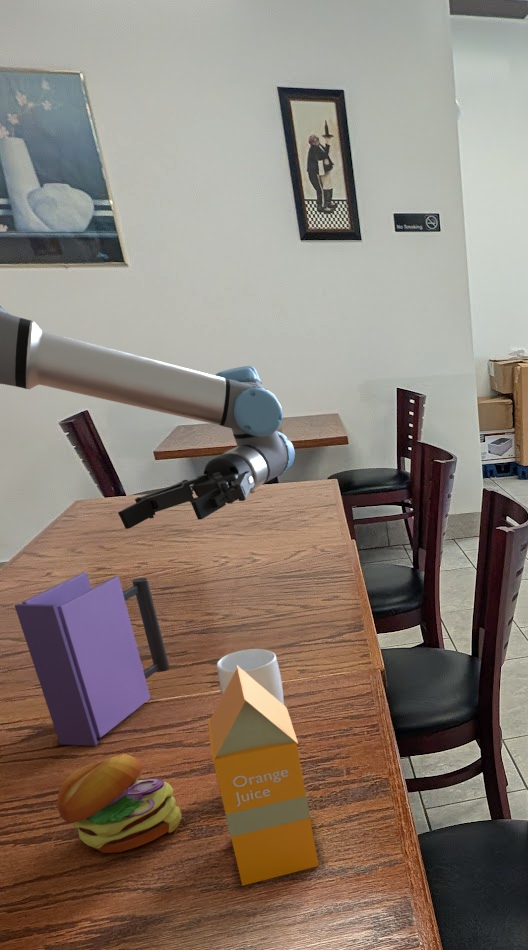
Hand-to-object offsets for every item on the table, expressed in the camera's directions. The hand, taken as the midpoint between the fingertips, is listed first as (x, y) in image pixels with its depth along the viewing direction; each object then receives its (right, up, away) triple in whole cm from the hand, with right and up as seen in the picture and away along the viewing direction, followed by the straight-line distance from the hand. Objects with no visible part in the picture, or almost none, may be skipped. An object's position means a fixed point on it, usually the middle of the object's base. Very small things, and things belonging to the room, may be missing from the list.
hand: (159, 515), depth 125 cm
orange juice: (+32, -44, -39) cm, 67 cm away
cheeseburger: (+14, -43, -35) cm, 57 cm away
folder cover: (+1, -29, -9) cm, 31 cm away
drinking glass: (+25, -37, -24) cm, 51 cm away
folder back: (-2, -31, -11) cm, 33 cm away
